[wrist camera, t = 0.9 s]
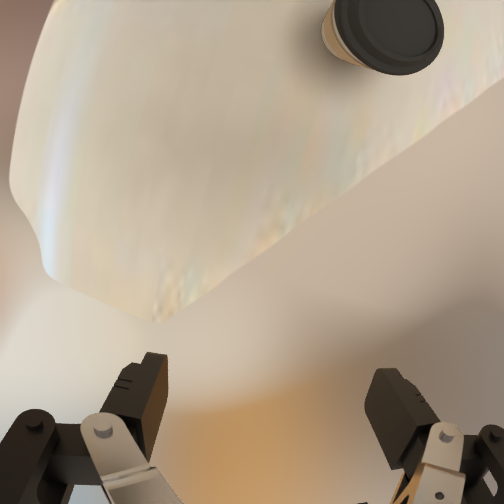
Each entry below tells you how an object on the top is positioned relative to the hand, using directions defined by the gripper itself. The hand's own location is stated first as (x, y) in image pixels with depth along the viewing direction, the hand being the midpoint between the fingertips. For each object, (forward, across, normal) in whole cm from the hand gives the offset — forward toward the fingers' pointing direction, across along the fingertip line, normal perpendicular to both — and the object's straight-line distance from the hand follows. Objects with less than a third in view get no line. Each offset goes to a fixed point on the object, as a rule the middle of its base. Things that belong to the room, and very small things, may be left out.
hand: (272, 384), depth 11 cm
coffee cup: (+23, -8, -25) cm, 35 cm away
